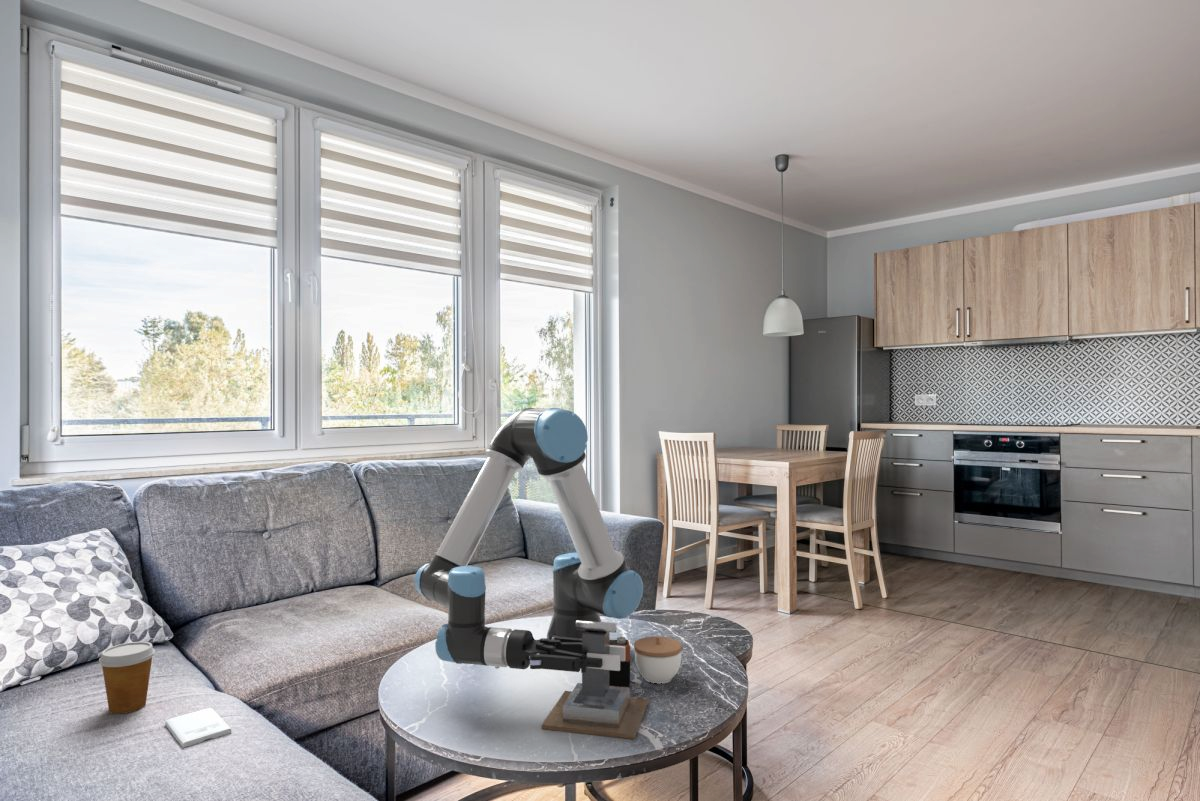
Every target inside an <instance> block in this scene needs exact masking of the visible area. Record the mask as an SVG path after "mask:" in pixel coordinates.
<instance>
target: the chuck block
mask: <svg viewBox="0 0 1200 801" xmlns="http://www.w3.org/2000/svg"><path fill="white" fill-rule="evenodd" d="M630 690H631V689H630V687H617V686H609V690H608V691H607V693H606V695H605V697H598V696H588V695H582V682H577V683H576V684H575V687H574V688H573V689H572V691H571V690H564V692H563V693H562V694H561V696H560V697H559V699H558V700H557V702H555V705H554V706H553V707H552V709H551V710H550V712H549V713H548V715H547V716H546V718H545V719H544V721H543V722H542V724H541V730H548V731H549V730H550V731H557V732H566V733H576V734H583V735H584V734H586V735H592V734H593V736H601V737H602V736H604V737H612V738H619V739H620V738H621V739H629V740H635V739H636V736H637V733H638V732H639V728H640V726H641V723H642V721H643V719H642V718H644V716H645V713H646V710H647V708H648V706H649V700H650V699H649V698H642V697H632V696H630ZM647 705H648V706H647Z"/></svg>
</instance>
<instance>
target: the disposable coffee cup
mask: <svg viewBox="0 0 1200 801" xmlns="http://www.w3.org/2000/svg"><path fill="white" fill-rule="evenodd" d="M153 647H154V646H153V643H151V642H149V641H132V642H131V641H130V642H125V643H120V644H117V645H113V646H110V647H108V648H106V649H104V650H103V651H102V652H101V656H100V657H99V659H98V662H99V663H100V666H101V668H102V673H103V680H104V687H105V694H106V699H107V707H108V712H109V713H110V714H114V715H120V714H128V713H131V712H135V711H138V710H140V709H142V708H143V707H146V706H145V705H147V698H148V697H147V696H148V691H149V690H148V688H149V683H150V675H151V668H152V661H153V656H154V654H155V653H156V649H155V648H153Z"/></svg>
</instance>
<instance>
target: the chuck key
mask: <svg viewBox="0 0 1200 801" xmlns="http://www.w3.org/2000/svg"><path fill="white" fill-rule="evenodd" d="M575 627H576V630H585V631H584V632H583V633H582V654H584V655H586V657H587V653H597V654H608V655H609V646H610V640H611V639H610V636H611V635H610V634H611V633H614V634H616V633H617V627H618V626H617V623H616V622H605V621H604V622H603V621H601V622H594V621H581V620H577V621H576V625H575ZM581 683H582V695H588V696H598V697H605V695H606V693H607V691H608V690H609V670H604V669H594V668H587V667H586V672H585V673H581Z"/></svg>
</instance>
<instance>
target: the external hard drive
mask: <svg viewBox="0 0 1200 801" xmlns="http://www.w3.org/2000/svg"><path fill="white" fill-rule="evenodd" d="M164 723H165V726H164V727H166V728H167V730H168V731H169V732H170V733H171V735H173V738H175V739H176V741H177V742H178V744H179V745H180V747H181V748H186V747H187V748H188V747H190V746H193V745H194V746H195V745H197V744H199V743H203V742H205V741H208V740H212V739H216V738H219V737H222V736H225V735H229V734H232V728H231V726H229V724H227V723H226V722H225V720H224V719H223V718H222V717H221V716H220V715H219V714H218V713H217V712H216V711H215V709H213V708H212V707H207V708H204V709H203V708H202V709H200V710H197V711H193V712H189V713H186V714H182V715H178V716H175V717H172V718H168V719H166V720H165V722H164Z"/></svg>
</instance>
